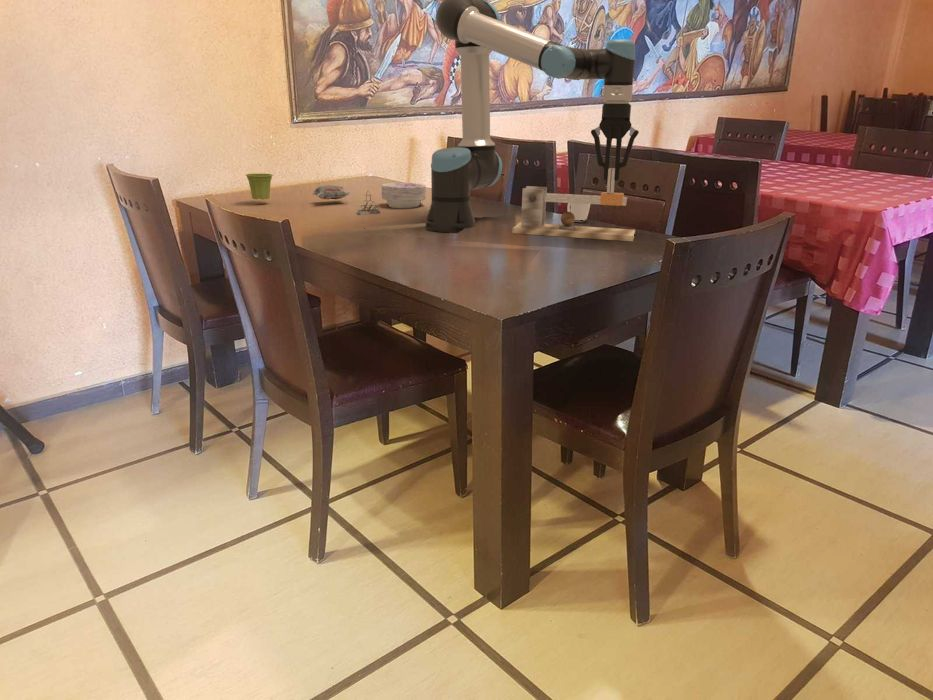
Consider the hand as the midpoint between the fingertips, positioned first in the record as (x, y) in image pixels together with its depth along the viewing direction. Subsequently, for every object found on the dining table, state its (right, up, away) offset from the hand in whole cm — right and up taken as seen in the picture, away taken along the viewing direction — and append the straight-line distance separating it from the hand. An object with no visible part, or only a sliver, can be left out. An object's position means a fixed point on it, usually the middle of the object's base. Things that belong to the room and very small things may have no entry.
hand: (610, 192), depth 193 cm
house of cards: (-72, +2, +38) cm, 82 cm away
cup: (-5, -3, +27) cm, 28 cm away
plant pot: (-116, +12, +62) cm, 132 cm away
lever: (-9, -3, +4) cm, 10 cm away
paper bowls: (-62, +6, +48) cm, 79 cm away
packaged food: (-92, +9, +59) cm, 110 cm away
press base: (-9, -11, +7) cm, 15 cm away
